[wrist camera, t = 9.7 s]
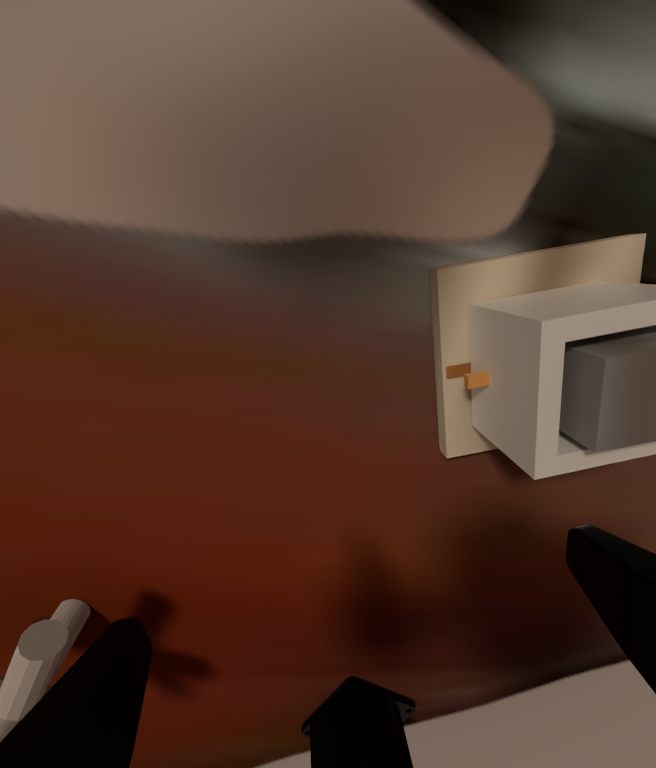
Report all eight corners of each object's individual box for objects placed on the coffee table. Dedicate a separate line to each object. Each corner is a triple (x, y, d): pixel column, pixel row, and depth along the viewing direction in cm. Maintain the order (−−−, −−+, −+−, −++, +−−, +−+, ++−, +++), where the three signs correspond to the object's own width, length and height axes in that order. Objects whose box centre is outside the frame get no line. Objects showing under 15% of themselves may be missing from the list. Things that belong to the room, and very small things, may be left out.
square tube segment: (597, 280, 17) (716, 288, 12) (585, 402, 19) (682, 448, 15) (449, 307, 17) (513, 326, 12) (454, 429, 19) (510, 485, 14)
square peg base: (627, 235, 18) (828, 220, 11) (605, 417, 21) (749, 489, 14) (429, 269, 17) (514, 275, 11) (439, 449, 21) (509, 538, 14)
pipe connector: (184, 576, 22) (104, 816, 12) (129, 680, 24) (27, 947, 15) (6, 521, 19) (-261, 767, 10) (-36, 644, 22) (-280, 933, 13)
